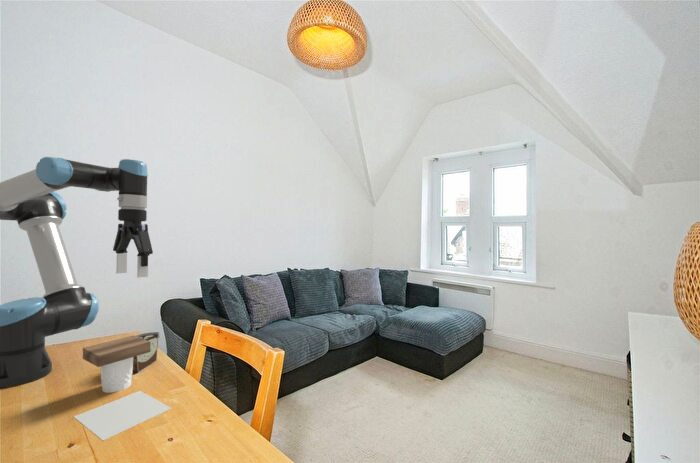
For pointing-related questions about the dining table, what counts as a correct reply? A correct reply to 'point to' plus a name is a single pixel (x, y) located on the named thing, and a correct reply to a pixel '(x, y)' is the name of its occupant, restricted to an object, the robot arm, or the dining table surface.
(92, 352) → the walnut board
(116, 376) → the white cup
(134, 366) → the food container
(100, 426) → the rubber mat
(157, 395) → the dining table surface
